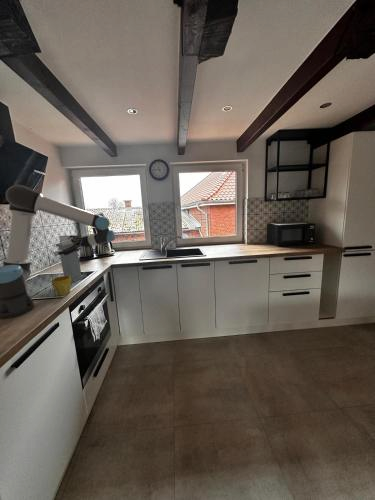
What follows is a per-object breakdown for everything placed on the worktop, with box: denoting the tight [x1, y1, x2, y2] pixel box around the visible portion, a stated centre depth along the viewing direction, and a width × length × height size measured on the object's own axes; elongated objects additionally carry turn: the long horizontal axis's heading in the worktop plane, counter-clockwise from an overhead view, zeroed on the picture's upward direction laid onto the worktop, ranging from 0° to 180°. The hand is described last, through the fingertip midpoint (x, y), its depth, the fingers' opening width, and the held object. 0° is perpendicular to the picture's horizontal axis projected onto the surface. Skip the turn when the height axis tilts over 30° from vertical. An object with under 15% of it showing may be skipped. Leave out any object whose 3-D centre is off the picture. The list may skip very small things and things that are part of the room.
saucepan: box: [58, 234, 82, 244], centre depth 143 cm, size 17×9×5 cm, turn 71°
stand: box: [55, 242, 85, 283], centre depth 147 cm, size 10×10×28 cm
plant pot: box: [50, 275, 73, 296], centre depth 123 cm, size 10×10×10 cm
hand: (57, 248), depth 130 cm, fingers open, 13 cm apart
